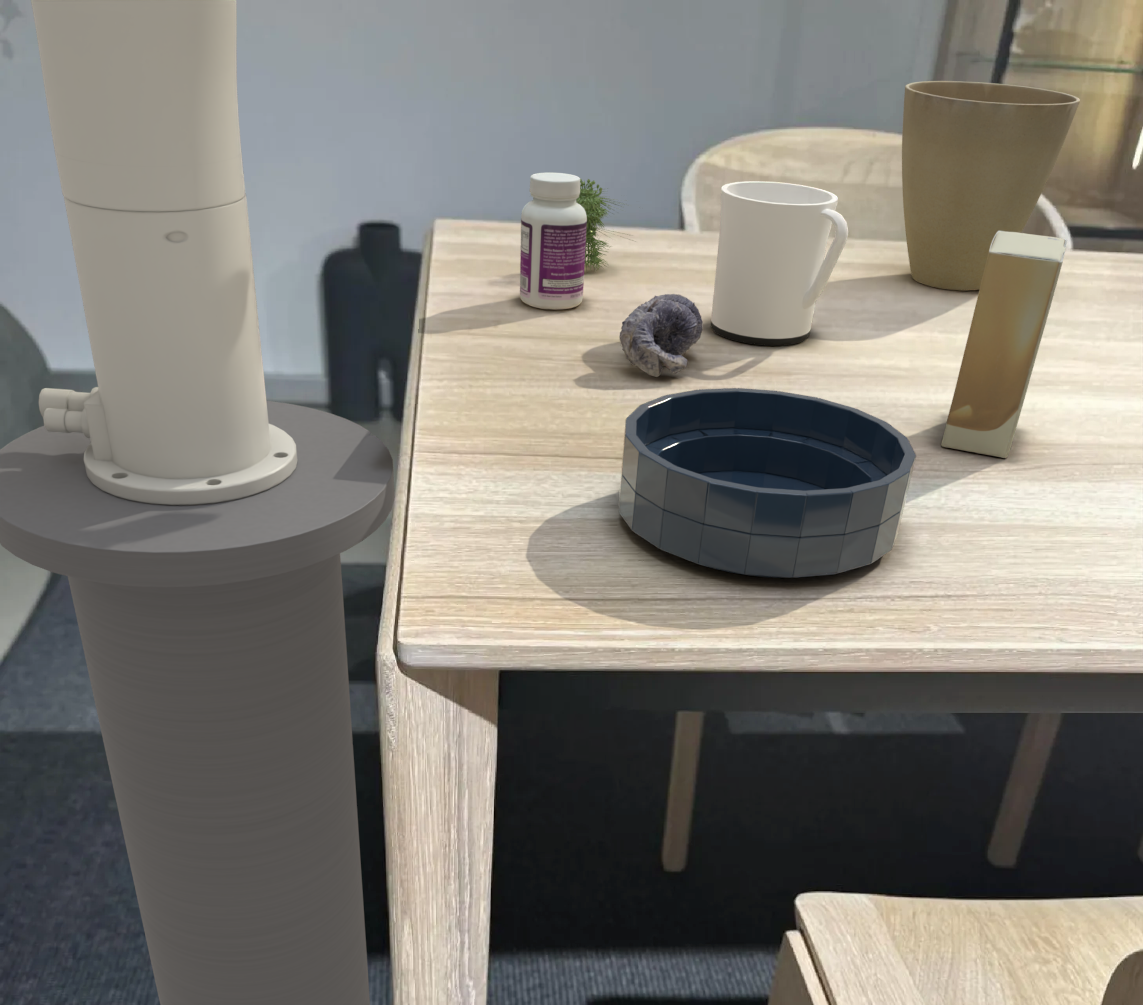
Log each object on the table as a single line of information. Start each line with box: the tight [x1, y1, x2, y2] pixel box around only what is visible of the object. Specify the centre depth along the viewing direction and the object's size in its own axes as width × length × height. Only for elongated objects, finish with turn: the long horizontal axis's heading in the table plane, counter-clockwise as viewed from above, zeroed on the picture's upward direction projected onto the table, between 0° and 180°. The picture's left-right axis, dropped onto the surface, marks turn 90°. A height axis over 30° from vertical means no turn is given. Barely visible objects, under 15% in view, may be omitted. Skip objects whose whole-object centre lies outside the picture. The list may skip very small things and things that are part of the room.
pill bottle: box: [519, 172, 587, 310], centre depth 97 cm, size 5×5×10 cm
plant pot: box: [901, 80, 1081, 292], centre depth 109 cm, size 15×15×16 cm
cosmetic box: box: [941, 231, 1068, 459], centre depth 75 cm, size 6×4×12 cm
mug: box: [710, 180, 849, 347], centre depth 93 cm, size 11×9×10 cm
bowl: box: [618, 387, 917, 579], centre depth 64 cm, size 15×15×5 cm
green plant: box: [576, 178, 642, 272], centre depth 107 cm, size 12×12×8 cm
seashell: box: [619, 293, 704, 378], centre depth 87 cm, size 5×5×10 cm
